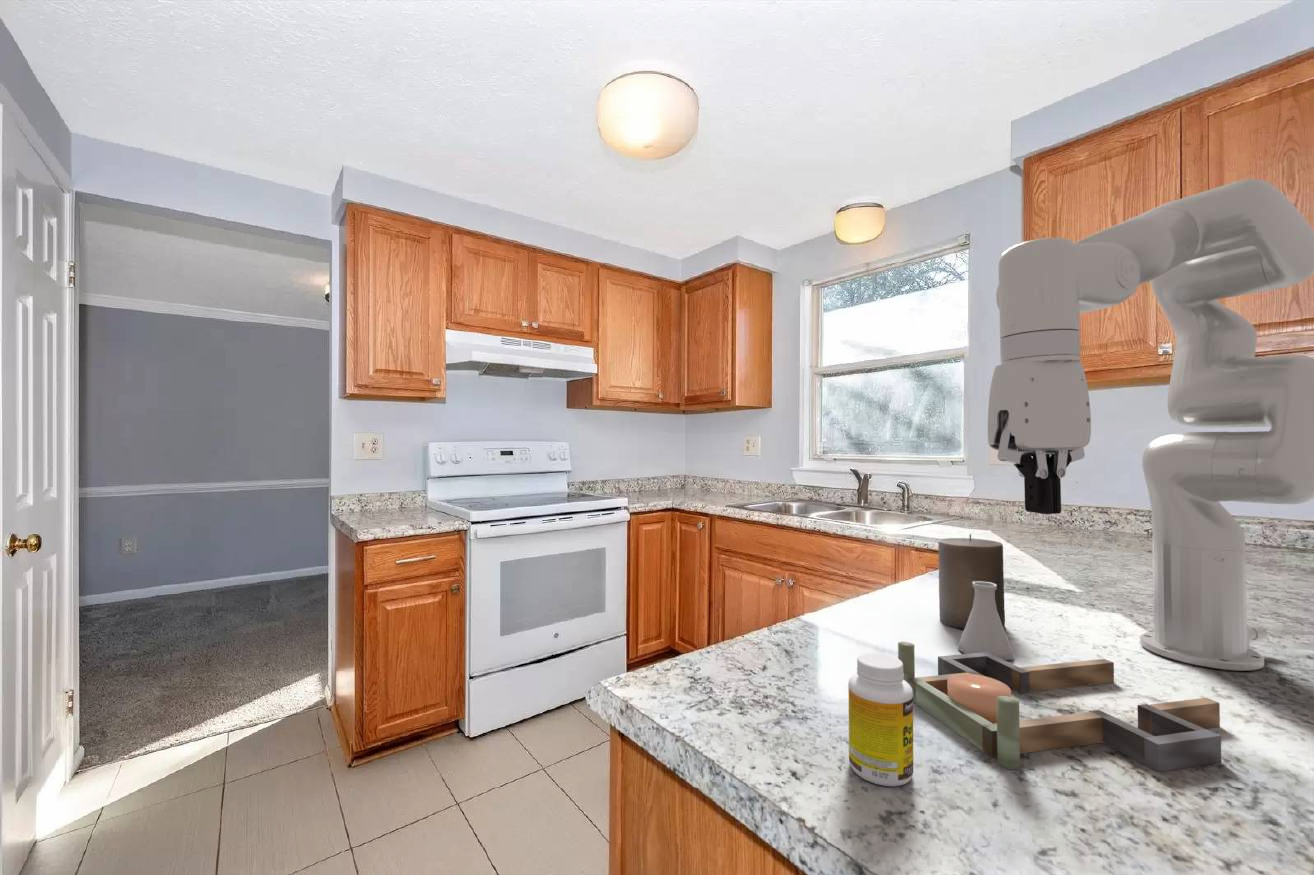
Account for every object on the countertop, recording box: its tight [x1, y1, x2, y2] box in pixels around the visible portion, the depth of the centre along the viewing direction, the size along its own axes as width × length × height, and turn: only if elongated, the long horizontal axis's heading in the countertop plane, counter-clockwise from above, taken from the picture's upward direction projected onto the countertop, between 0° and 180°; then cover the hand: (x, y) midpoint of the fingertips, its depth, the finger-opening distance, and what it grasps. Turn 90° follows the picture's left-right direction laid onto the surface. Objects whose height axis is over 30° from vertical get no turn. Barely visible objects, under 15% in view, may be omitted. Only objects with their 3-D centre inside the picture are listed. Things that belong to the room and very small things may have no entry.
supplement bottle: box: [847, 652, 914, 787], centre depth 51 cm, size 6×6×10 cm
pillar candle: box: [937, 533, 1006, 630], centre depth 94 cm, size 10×10×15 cm
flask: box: [957, 581, 1015, 661], centre depth 80 cm, size 7×7×10 cm
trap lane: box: [897, 641, 1222, 773], centre depth 62 cm, size 28×23×6 cm
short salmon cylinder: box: [948, 674, 1012, 724], centre depth 61 cm, size 6×6×4 cm
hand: (1042, 512), depth 63 cm, fingers closed
